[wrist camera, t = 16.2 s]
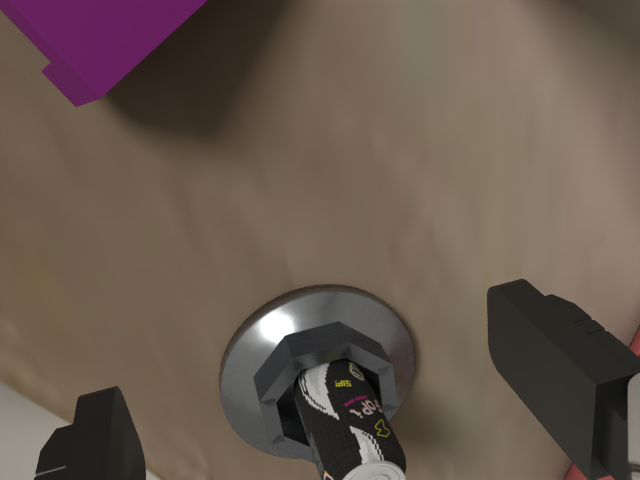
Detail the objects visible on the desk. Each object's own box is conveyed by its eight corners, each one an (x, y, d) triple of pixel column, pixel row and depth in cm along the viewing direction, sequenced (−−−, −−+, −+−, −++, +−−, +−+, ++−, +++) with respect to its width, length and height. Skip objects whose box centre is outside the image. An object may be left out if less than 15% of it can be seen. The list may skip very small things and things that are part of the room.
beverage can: (373, 361, 50) (432, 469, 39) (336, 414, 51) (384, 533, 40) (314, 337, 47) (360, 446, 37) (277, 394, 49) (312, 515, 38)
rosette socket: (400, 263, 48) (422, 290, 44) (414, 417, 55) (434, 452, 51) (198, 313, 46) (203, 347, 42) (240, 467, 53) (248, 509, 49)
